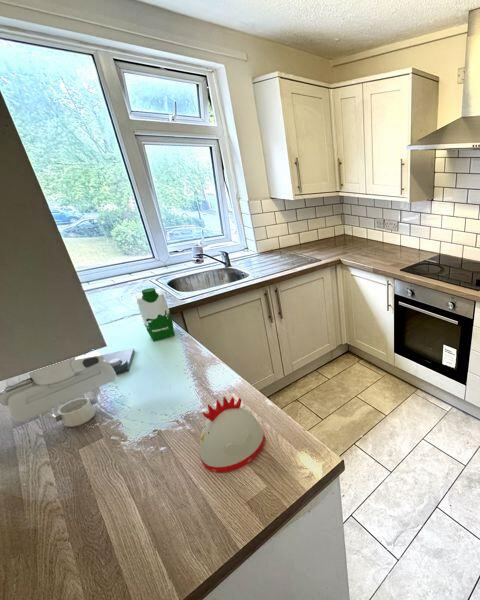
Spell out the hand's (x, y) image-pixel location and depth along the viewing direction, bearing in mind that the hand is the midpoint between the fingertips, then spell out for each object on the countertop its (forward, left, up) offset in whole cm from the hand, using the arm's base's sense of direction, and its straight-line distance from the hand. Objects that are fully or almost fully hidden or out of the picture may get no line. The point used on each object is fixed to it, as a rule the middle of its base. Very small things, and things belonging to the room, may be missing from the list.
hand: (77, 411), depth 87 cm
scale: (0, +27, -3) cm, 27 cm away
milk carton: (+16, +43, -3) cm, 46 cm away
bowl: (0, 0, -3) cm, 3 cm away
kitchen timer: (+35, -31, -3) cm, 47 cm away
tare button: (+5, +22, 0) cm, 23 cm away
